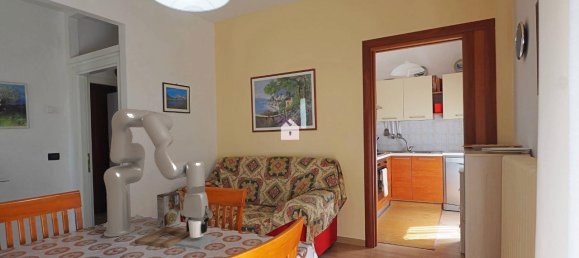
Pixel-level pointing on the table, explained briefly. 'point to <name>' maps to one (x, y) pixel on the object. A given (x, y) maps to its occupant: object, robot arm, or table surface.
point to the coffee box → (168, 209)
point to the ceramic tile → (196, 241)
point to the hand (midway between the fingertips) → (196, 231)
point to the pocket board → (166, 243)
